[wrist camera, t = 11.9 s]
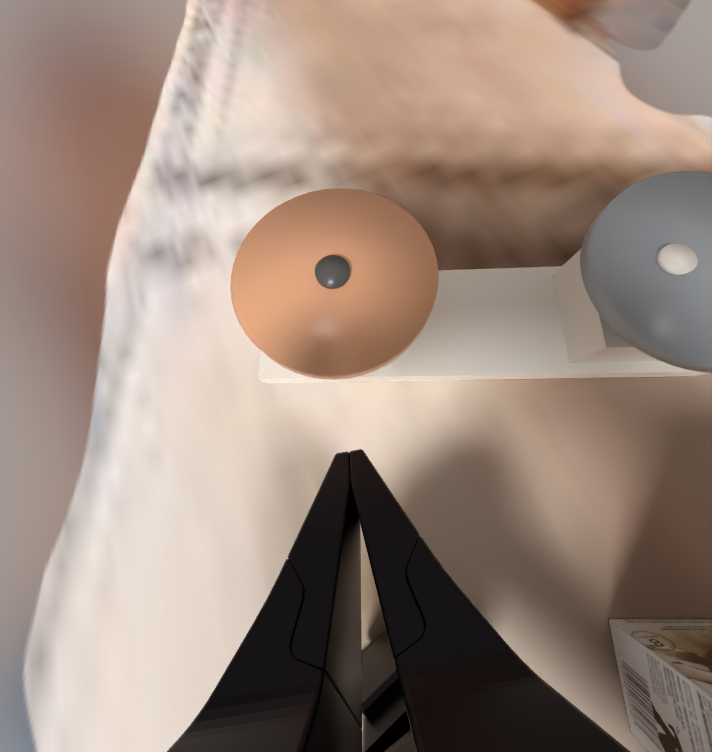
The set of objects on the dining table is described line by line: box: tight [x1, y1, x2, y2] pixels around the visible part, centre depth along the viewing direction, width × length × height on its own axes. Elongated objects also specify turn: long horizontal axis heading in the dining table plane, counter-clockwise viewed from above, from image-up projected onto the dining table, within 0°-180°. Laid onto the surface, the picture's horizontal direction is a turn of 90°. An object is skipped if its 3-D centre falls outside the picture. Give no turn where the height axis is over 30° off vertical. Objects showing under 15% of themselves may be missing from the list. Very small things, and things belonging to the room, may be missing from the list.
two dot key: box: [580, 171, 712, 373], centre depth 18 cm, size 12×12×6 cm
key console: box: [258, 249, 709, 383], centre depth 22 cm, size 34×9×5 cm, turn 90°
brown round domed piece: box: [231, 189, 439, 380], centre depth 19 cm, size 12×12×6 cm
